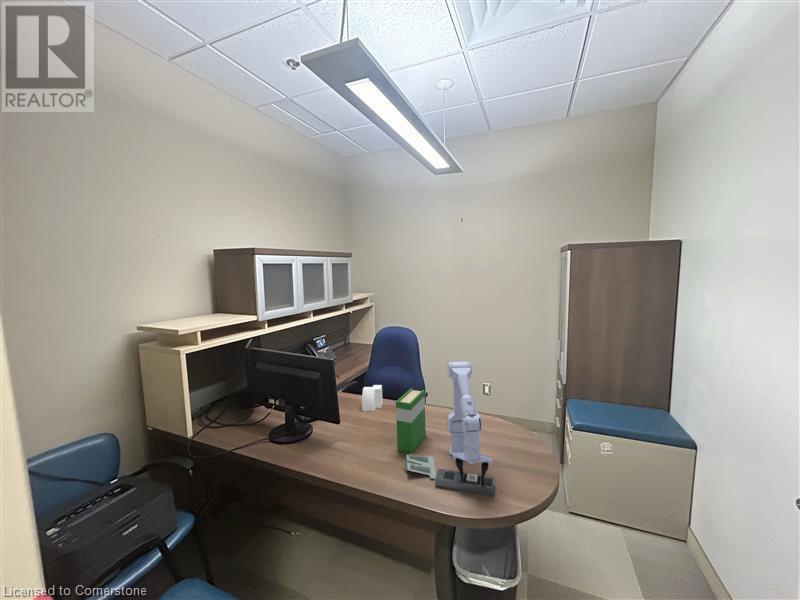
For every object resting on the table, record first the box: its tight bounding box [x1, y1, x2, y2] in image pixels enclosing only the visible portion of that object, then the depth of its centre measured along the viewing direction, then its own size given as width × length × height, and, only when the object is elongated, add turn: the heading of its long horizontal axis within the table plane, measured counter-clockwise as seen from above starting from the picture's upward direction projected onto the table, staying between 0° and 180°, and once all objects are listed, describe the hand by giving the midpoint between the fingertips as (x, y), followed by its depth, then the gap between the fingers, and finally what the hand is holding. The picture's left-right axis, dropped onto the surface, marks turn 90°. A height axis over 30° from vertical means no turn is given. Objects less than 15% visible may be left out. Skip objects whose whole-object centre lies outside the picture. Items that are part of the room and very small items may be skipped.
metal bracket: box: [402, 453, 437, 480], centre depth 141 cm, size 14×6×15 cm
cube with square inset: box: [465, 472, 479, 485], centre depth 129 cm, size 4×4×4 cm
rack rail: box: [434, 468, 495, 497], centre depth 130 cm, size 7×22×3 cm, turn 73°
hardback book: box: [395, 387, 427, 455], centre depth 160 cm, size 18×7×24 cm, turn 155°
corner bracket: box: [361, 384, 384, 412], centre depth 202 cm, size 11×11×12 cm
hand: (472, 478), depth 129 cm, fingers open, 7 cm apart
